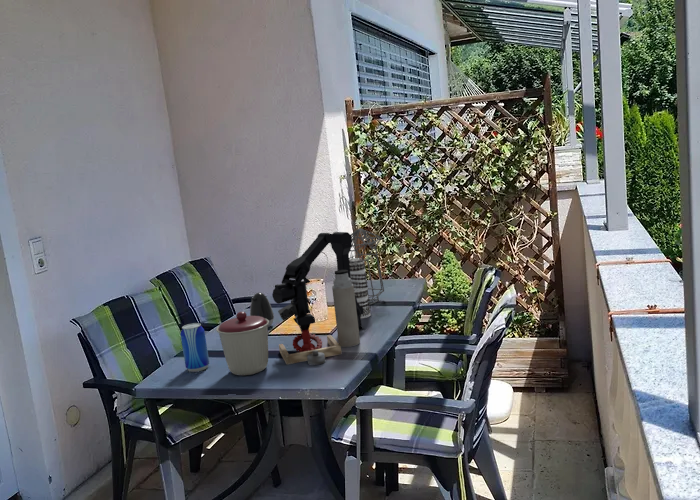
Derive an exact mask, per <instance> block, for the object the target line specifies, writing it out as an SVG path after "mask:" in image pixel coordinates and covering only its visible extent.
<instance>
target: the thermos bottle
mask: <svg viewBox="0 0 700 500" xmlns="http://www.w3.org/2000/svg"><path fill="white" fill-rule="evenodd" d="M334 278H335V279H333V280H332V281H333V283H332V287H331V289H332V297H333V304H334V306H333V307H334V314H335V323H336V331H337V340H338V341H337V342H338V343H339V345H340V346H341V348H342V347H343V348H351V347H355V346H358V345H360V343H361V339H360V330H359V328H358V319H357V311H356V302H355V293H354V285H353V284H352V283H351V281H352V280H351V278H349V277H348V270H335V271H334Z"/></svg>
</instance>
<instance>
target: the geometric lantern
mask: <svg viewBox="0 0 700 500" xmlns="http://www.w3.org/2000/svg"><path fill="white" fill-rule="evenodd" d="M369 234H370V235H373V236H375V237H373V236H370V235H369ZM350 235H351V236H352V248H353V249H351V250H350V254H349V259H352V258H355V257H357V258H361V259H362V260H363V261H364V268H365V269H366V263H365V261H366V262H367V269H368V274H369V279H370V286H371V287H367V288H368V289H367V295H368V299H369V303H370V304H369V305H368V306H370V305H374V304H375V303H377V302H379V301H380V299H379V297H380V296H381V294H383V293H385V288H384V283H383V282H384V281H383V277H382V271H381V267H380V262H379V254H378V250H377V245H379V243H380V241H381V240H382V239H383V237H382V236H380V235H378V234H375V233H373V232H371V231H368V230H365V229H364V228H357V229H356V230H354V231H353V232H352V233H350ZM359 235H360V236H359ZM358 239H359V240H360V241H362V242H363V243H359V244H357V240H358ZM370 239H371V240H370ZM374 239H376V240H374ZM365 240H366V241H365ZM358 246H359V247H358ZM367 246H369V248H370V249H371V251H369V253H364V251H365V249H366V247H367ZM356 247H358V248H356ZM362 247H363V250H362V252H361V253H360V252H359V251H358V250H359V249H361V248H362ZM373 250H375V253H372V251H373ZM353 252H356V254H355V255H353V256H352V254H353ZM367 255H368V257H367V259H365V258H364V256H367ZM370 256H372V257H370ZM375 257H376V261H377V262H376V263H377V268H378V276H379V283H380V288H374V287H373V281H372V275H371V274H372V273H371V270H370V262H369V260H371V259H374V258H375ZM366 271H367V270H365V273H366ZM366 274H367V273H366ZM365 277H367V275H366V276H365ZM365 280H366V282H367V284H366V285H367V286H368V281H367V280H368V278H367V279H365ZM369 290H371V291H372V292H371V293H372V294H369ZM376 290H377V291H379V292H378V293H376V294H375V293H374V291H376Z"/></svg>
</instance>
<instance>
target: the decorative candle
mask: <svg viewBox="0 0 700 500" xmlns="http://www.w3.org/2000/svg"><path fill="white" fill-rule="evenodd" d="M364 263H365V261H363V260H362V258H361V257H359V258H358V257H352V258H350V259H349V264H350V275H351V280H352V281H351V283H352V284H353V285H354V293H355V295H356V298H357V303H358V304H359V305H360V306H361V307H362V308H363V309H364V310H363V314H361V315H360V317H361V320H362V319H366V318H369V317H370V316H371V315H372V314H371V310H370V309H371V306H370V305H369V304H370V301H369V299H370V298H369V299H368V295H369V294H368V295H367V289H368V288H369V285H368V281H367V282H366V280H365V279H367V280H368V277H367V276H368V273H365V271H366V267H365V268H364ZM365 276H366V277H365ZM366 284H367V285H366ZM368 290H369V289H368Z"/></svg>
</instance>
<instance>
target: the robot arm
mask: <svg viewBox="0 0 700 500" xmlns="http://www.w3.org/2000/svg"><path fill="white" fill-rule="evenodd" d="M352 236H353V235H352ZM352 236H351V233H350V232H346V231H334V232H332V233H330V232H321V233H318V234H317V237H316V238H315V239H314V240H313V242H312V243H311V244H310V245H309V247H307V248H306V250H305V251H304V252H303V254H301V255H300V257H298V258H296V259H295V258H294V260H291V262H290V263H289V264H287V266H286V268H285V272H284V275H283V277H282V280H281V281H280V282H281V283H280V284H278V283H277V284H275V285H274V289H273V290H272V294H271V295H272V298H273V301H274V302H275V303H276V304H278V305H279V304H283V303H286V302H288V301H290V304H288V305H285V306H284V307H282V308H281V309H278V310H277V312H278V315H279V316H280V318H281V319H282V321H286V320H288V318H290V317H292V316H294V318H293V320H294V322H295V323H296V324H297V326H298V327H299V329H300V332H301V333H302V330H308V328H309V329H310V326H311V325H312V324H315V323H316V317H315V316H314V315H313V314H312V313H311V309H310V306H309V302H310V300H309V298H308V293H307V292H308V291H307V284H309V283H311V280H310V279H308V278H307V275H308V274H309V272H310V270H311V265H313V263H314V262H315V260H317V258H318V257H319V256H320V255H321V253H322V252H323V251H324V249H326V248H327V246H328V245H329V244H330V247H331V250H333V252H334V254H335V256H336V258H335V259H336V268H337V270H348V277H349V278H351V275H350V264H349V258H350V253H351V251H350V250H352V248H353V247H352V243H353V241H352V238H353V237H352ZM337 270H336V271H337ZM355 302H356V311H357V319H358V328H359V331H361V330H364V328H363V326H362V319H361V317H360V315H361V314H363V310H364V309H363V308H362V307H361V306H360V305H359V304H358V303H357V298H356V295H355Z"/></svg>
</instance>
